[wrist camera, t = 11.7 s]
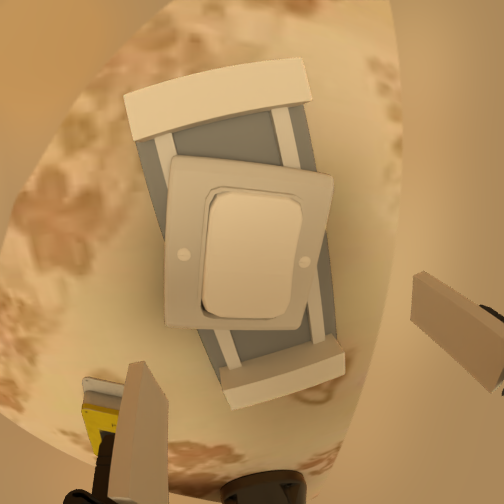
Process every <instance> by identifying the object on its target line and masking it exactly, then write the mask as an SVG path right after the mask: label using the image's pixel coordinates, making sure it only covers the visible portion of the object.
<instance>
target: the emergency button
mask: <svg viewBox="0 0 504 504" xmlns="http://www.w3.org/2000/svg"><path fill="white" fill-rule="evenodd" d="M82 385H83V390H84V400H83V404H82V410H81V412H82V416H83V420H84V423H85V427H86V430H87V433H88V437H89V440H90V443H91V446H92V449H93V452H94V454H95V455H96V456H97V455H98V450H99V445H100V443H101V441H102V440H103V438H104V436H105V435H109V434H116V428H117V422H118V416H119V411H120V405H121V400H122V395H123V390H124V386H125V384H120V383H115V382H110V381H106V380H101V379H97V378H92V377H85V378H83V380H82ZM164 395H165V394H164Z"/></svg>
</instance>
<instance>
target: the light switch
mask: <svg viewBox="0 0 504 504" xmlns="http://www.w3.org/2000/svg"><path fill="white" fill-rule="evenodd" d="M333 192H334V179H333V177H332V176H331V175H329V174H324V173H319V172H313V171H308V170H302V169H296V168H289V167H283V166H276V165H269V164H262V163H254V162H246V161H238V160H229V159H220V158H210V157H199V156H186V155H175V156H173V157H172V159H171V163H170V171H169V183H168V196H167V211H166V230H165V259H164V320H165V325H166V326H167V327H172V328H190V329H215V330H296V329H298V328H299V327H300V325H301V322H302V318H303V315H304V311H305V308H306V304H307V300H308V297H309V293H310V289H311V286H312V282H313V278H314V274H315V270H316V266H317V262H318V258H319V254H320V250H321V246H322V242H323V238H324V233H325V229H326V225H327V220H328V216H329V211H330V206H331V202H332V197H333ZM201 299H202V302H203V305H204V307H205V309H206V310H207V311H208V312H207V311H205V310H203V308H202V306H201Z"/></svg>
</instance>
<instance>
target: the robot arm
mask: <svg viewBox="0 0 504 504" xmlns="http://www.w3.org/2000/svg"><path fill="white" fill-rule="evenodd" d="M410 320H411V321H412V322H413V323H414V324H415V325H417V326H418V327H419V328H420V329H421V330H422V331H423V332H425V333H426V334H427V335H428V336H429V337H430V338H431V339H432V340H434V341H435V342H436V343H437V344H438V345H439V346H440V347H442V348H443V349H444V350H445V351H446V352H447V353H448V354H449V355H450V356H451V357H452V358H454V359H455V360H456V361H457V362H458V363H459V364H460V365H461V366H462V367H463V368H465V370H467V371H468V372H469V373H470V374H471V375H472V376H473V377H474V378H475V379H476V380H477V381H478V382H479V383H480V384H481V385H482V386H483V387H484V388H486V390H487V391H488V392H489V393H491V394H492V393H493V392H494V391H495V390H496V389H497V388H498V387H499V386H500V385H501V384H502V382H503V380H504V317H503V316H502V315H500V314H498V312H496V311H494V310H493V309H492V308H490V307H486V306H484V305H479V306H478V305H477V304H475V303H474V302H472V301H471V300H469V299H468V298H466V297H465V296H463V295H461V294H460V293H459V292H457V291H455V290H454V289H452V288H451V287H449V286H447V285H446V284H444V283H443V282H441V281H439V280H438V279H436V278H435V277H433V276H431V275H430V274H428V273H427V272H425V271H423V272H421V273H418V274H416V275H414V276H413V292H412V308H411V319H410ZM503 395H504V389H503V391H502V396H503ZM97 456H98V458H97V461H96V465H97V466H96V467H95V474H94V481H93V488H92V494H90V493H89V492H87V491H85V490H82V489H76V490H73V491H71V492H69V493H68V494H67V495H66V497H65V499H64V501H63V504H169V492H168V399H167V398H166V396H165V395H164V393H163V391H162V390H161V388H160V387H159V385H158V383H157V382H156V380H155V378H154V377H153V375H152V373H151V371H150V370H149V368H148V366H147V365H146V363H145V361H141V362H136V363H131V364H129V368H128V372H127V376H126V381H125V386H124V390H123V395H122V400H121V405H120V411H119V416H118V422H117V428H116V434H109V435H105V436H104V438H103V440H102V441H101V443H100V445H99V450H98V455H97ZM306 490H307V486H306V482H305V480H304V477H303V475H302V474H301V473H298V472H295V471H271V472H264V473H259V474H254V475H250V476H246V477H242V478H239V479H237V480H234V481H232V482H230V483H228V484H226V485H225V486H223V487H222V488H221V490H220V495H221V501H222V504H306Z"/></svg>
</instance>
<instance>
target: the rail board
mask: <svg viewBox="0 0 504 504" xmlns="http://www.w3.org/2000/svg"><path fill="white" fill-rule="evenodd" d="M123 97H124V102H125V106H126V111H127V115H128V120H129V124H130V128H131V133H132V137H133V141H135V142H136V146H137V150H138V154H139V157H140V161H141V165H142V169H143V172H144V176H145V179H146V183H147V186H148V190H149V193H150V197H151V200H152V203H153V207H154V210H155V213H156V216H157V220H158V223H159V226H160V229H161V232H162V235H163V238H164V241H165V230H166V211H167V196H168V183H169V171H170V163H171V159H172V157H173V156H175V155H186V156H199V157H210V158H220V159H229V160H238V161H246V162H254V163H262V164H269V165H276V166H283V167H289V168H296V169H302V170H308V171H313V172H317V170H316V165H315V159H314V154H313V149H312V144H311V139H310V134H309V129H308V124H307V120H306V115H305V110H304V106H303V104H304V103H307V102H310V101H312V95H311V91H310V87H309V83H308V79H307V75H306V71H305V67H304V63H303V59H302V57H298V58H286V59H276V60H267V61H260V62H253V63H246V64H240V65H234V66H228V67H223V68H218V69H213V70H208V71H204V72H199V73H195V74H191V75H187V76H183V77H179V78H176V79H172V80H168V81H165V82H161V83H158V84H155V85H152V86H148V87H145V88H142V89H139V90H136V91H133V92H130V93H128V94H125V95H123ZM201 306H202V308H203V310H205V311H207V310H206V309H205V307H204V305H203V302H202V299H201ZM207 312H208V311H207ZM197 331H198V333H199V336H200V338H201V340H202V343H203V345H204V348H205V350H206V352H207V355H208V357H209V359H210V362H211V364H212V366H213V368H214V371H215V373H216V375H217V377H218V380H219V382H220V384H221V386H222V391H223V393H224V395H225V397H226V400H227V402H228V404H229V406H230V408H231V410H236V409H240V408H244V407H248V406H251V405H255V404H259V403H262V402H266V401H269V400H273V399H276V398H279V397H283V396H286V395H289V394H292V393H295V392H298V391H301V390H304V389H307V388H310V387H313V386H316V385H318V384H321V383H324V382H326V381H329V380H332V379H334V378H337V377H339V376H342V375H344V374H345V352H344V350H343V349H342V347H341V346H340V344H339V343H338V342H337V333H336V319H335V307H334V296H333V285H332V276H331V267H330V258H329V250H328V242H327V234H326V229H325V233H324V238H323V242H322V246H321V250H320V254H319V258H318V262H317V266H316V270H315V274H314V278H313V282H312V286H311V289H310V293H309V297H308V300H307V304H306V308H305V311H304V315H303V318H302V322H301V325H300V327H299V328H298V329H296V330H215V329H197Z"/></svg>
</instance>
